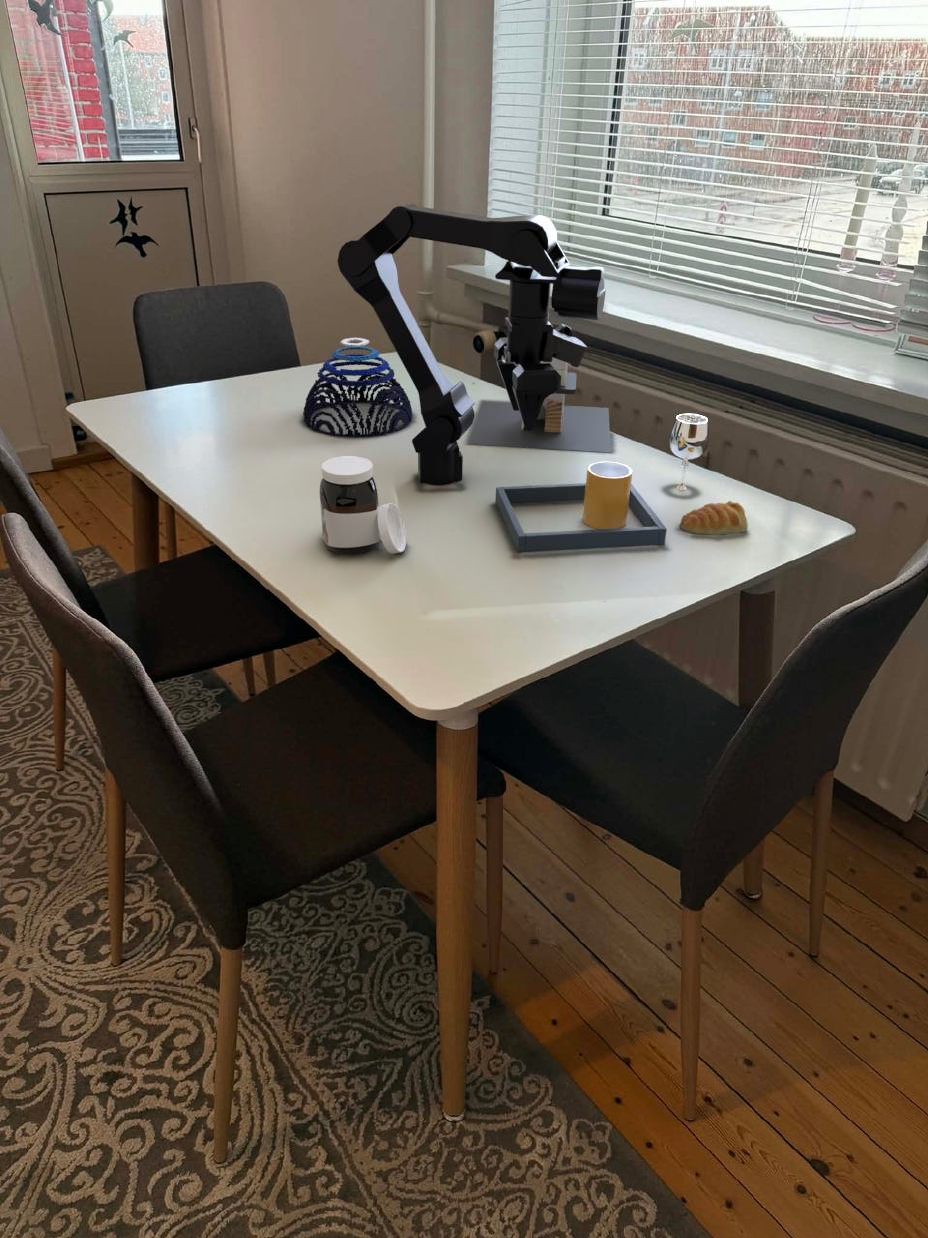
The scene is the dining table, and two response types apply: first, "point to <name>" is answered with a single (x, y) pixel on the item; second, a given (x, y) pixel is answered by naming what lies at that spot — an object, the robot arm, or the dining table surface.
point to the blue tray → (582, 538)
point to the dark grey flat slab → (546, 422)
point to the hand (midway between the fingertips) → (522, 420)
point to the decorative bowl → (362, 382)
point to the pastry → (715, 519)
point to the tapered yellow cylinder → (607, 495)
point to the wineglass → (689, 439)
